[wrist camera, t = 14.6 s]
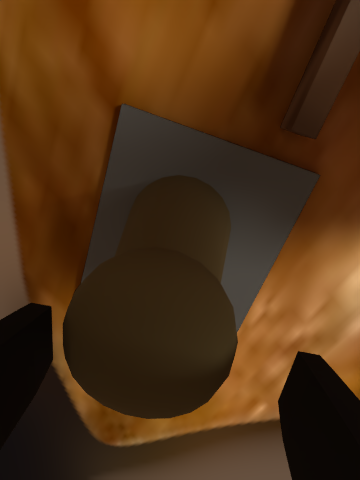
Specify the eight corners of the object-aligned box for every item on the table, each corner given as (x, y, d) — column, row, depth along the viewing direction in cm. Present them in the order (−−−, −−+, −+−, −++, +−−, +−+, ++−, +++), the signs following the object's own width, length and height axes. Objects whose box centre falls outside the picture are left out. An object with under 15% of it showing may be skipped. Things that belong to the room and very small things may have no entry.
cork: (166, 152, 16) (94, 220, 6) (253, 217, 17) (315, 368, 7) (110, 234, 18) (-10, 384, 8) (190, 288, 19) (168, 480, 9)
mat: (226, 345, 22) (227, 350, 21) (79, 297, 21) (76, 301, 21) (317, 173, 16) (320, 175, 16) (124, 103, 16) (121, 103, 15)
